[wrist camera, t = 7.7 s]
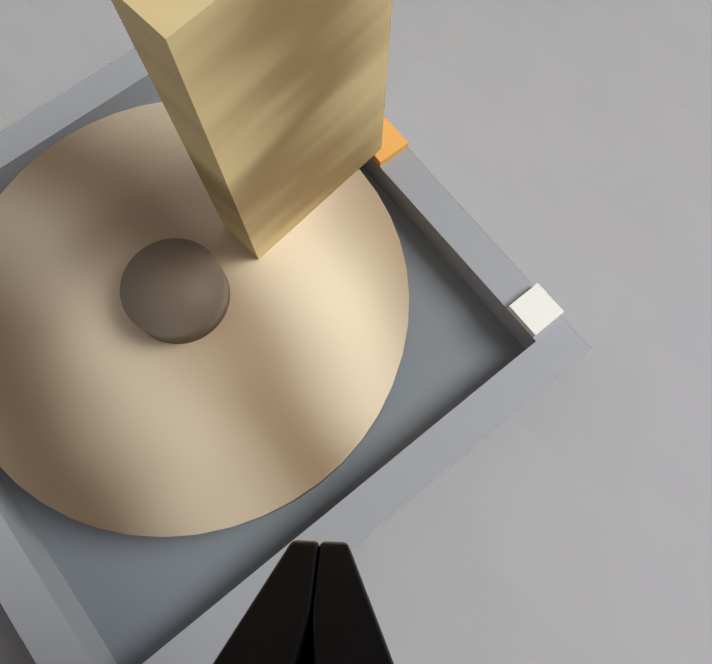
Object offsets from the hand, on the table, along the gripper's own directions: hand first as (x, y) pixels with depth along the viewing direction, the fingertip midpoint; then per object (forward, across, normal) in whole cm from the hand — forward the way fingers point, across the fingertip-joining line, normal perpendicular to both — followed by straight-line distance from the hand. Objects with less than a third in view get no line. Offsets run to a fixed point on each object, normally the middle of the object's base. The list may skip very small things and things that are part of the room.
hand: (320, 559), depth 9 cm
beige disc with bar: (+11, +5, +2) cm, 13 cm away
